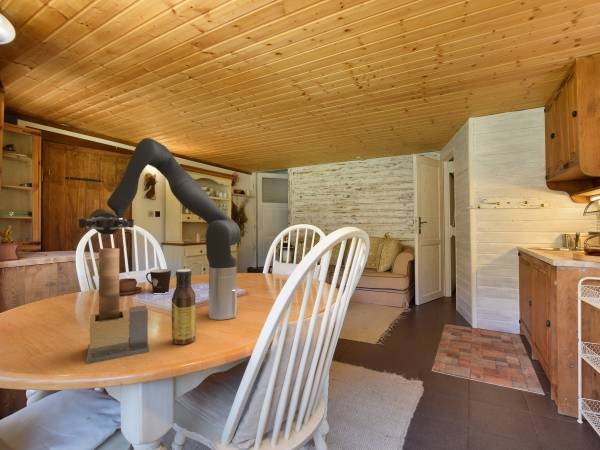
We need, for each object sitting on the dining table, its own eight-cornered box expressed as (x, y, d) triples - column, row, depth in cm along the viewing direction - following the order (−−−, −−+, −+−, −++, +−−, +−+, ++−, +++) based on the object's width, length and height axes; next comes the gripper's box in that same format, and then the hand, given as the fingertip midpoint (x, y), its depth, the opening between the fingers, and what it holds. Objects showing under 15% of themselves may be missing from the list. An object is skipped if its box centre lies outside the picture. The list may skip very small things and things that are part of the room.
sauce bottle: (177, 336, 91) (177, 267, 90) (199, 337, 90) (199, 267, 90) (167, 345, 84) (167, 271, 84) (190, 346, 84) (190, 271, 84)
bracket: (88, 348, 82) (88, 309, 82) (144, 338, 89) (144, 303, 89) (87, 363, 74) (87, 320, 73) (148, 351, 80) (149, 312, 80)
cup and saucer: (118, 290, 146) (118, 277, 146) (145, 290, 147) (145, 277, 147) (105, 297, 134) (105, 282, 134) (135, 297, 135) (135, 282, 135)
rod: (122, 332, 83) (122, 248, 82) (114, 338, 78) (114, 249, 78) (104, 332, 82) (104, 248, 81) (95, 339, 78) (95, 249, 77)
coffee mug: (174, 292, 142) (174, 270, 142) (155, 296, 136) (155, 273, 136) (163, 288, 150) (163, 267, 150) (144, 291, 144) (144, 269, 144)
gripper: (80, 210, 102) (77, 210, 88) (130, 211, 109) (135, 211, 96) (80, 234, 102) (77, 237, 88) (130, 233, 109) (135, 236, 96)
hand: (107, 223), depth 92 cm, fingers open, 8 cm apart
